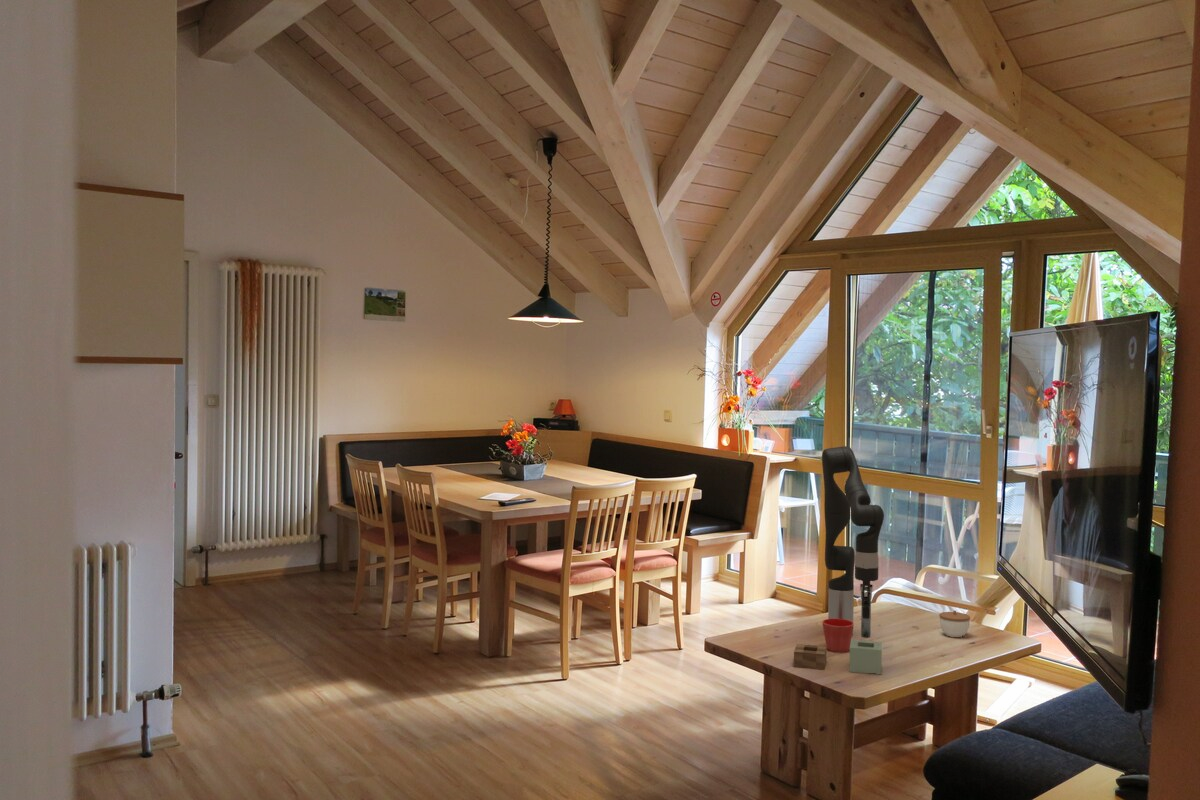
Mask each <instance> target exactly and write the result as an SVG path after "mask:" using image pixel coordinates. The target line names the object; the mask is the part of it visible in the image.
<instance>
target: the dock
mask: <svg viewBox="0 0 1200 800" xmlns="http://www.w3.org/2000/svg"><path fill="white" fill-rule="evenodd" d="M882 647H883V643H882V641H872V640H871V641H870V640H859V639H851V643H850V648H849V673H860V674H868V673H876V674H875V675H879V674H881V675H882V667H883V666H882V662H883V661H882V658H883V657H882V656H883V654H882V653H883V652H882V649H883V648H882Z"/></svg>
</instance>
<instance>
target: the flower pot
mask: <svg viewBox="0 0 1200 800" xmlns="http://www.w3.org/2000/svg"><path fill="white" fill-rule="evenodd" d="M822 629H823V634H824V640H825V646H827V650H829V651H832V652H834V653H835V652H836V653H846V652H848V651H850V643H851V640H852V636H853V635H852V631H853V632H854V621H853V622H852V621H849V620H846V619H837V618H833V619H828V618H826V619H823V620H822Z"/></svg>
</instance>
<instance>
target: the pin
mask: <svg viewBox="0 0 1200 800" xmlns="http://www.w3.org/2000/svg"><path fill="white" fill-rule="evenodd" d="M864 603H868V601H864ZM860 605H861V606H860V607H861V609H860V610H861V613H860V614H861V616H860V620H861V621H860V624H861V625H860V637H861V638H864V639H865V638H866V639H869V638H871V629H872V628H871V626H872V625H871V623H872V622H871V619H872V618H871V617H872V616H871V615H872V599H871V600H870V611H869V619H866V618H863V617H862V613H863V607H862V600H861V603H860Z"/></svg>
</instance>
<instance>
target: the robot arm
mask: <svg viewBox="0 0 1200 800" xmlns="http://www.w3.org/2000/svg"><path fill="white" fill-rule="evenodd" d="M821 463H822V464H821V465H822V473H823V484H824V485H823V487H824V501H823V502H824V505H823V507H824V510H823V511H824V527H825V541H824V542H825V546H824V565H825V567H826V569H827V570H830V571H842V572H844V573H843V574H842V575H840V576H838V577H835V578H831V579H830V580H829V581H828V604H827V605H828V607H827V608H828V609H827V610H828V614H827V615H828V618H827V619H833V618H837V619H846V620H849V621H852V622H853V623H854V610H855V609H854V604H855V603H854V601H855V600H854V599H855V598H854V597H855V596H854V595H855V594H854V592H855V591H854V588H855V587H854V586H855V584H854V583H855V582H854V578H855V579H856V580H858V581H862V583H860V585H859V590H860V600H861V601H862V607H863V613H862V617H863V618H866V619H869V611H870V600H871V601H872V599H873V598H872V597H873V594H872V593H873V589H874V588H873V587H874V585H873V584H871V582H877V581H878V580H879V539H880V538H879V537H880V533H881V530H882V526H883V524H884V523H883V522H884V520H885V519H884V518H885V513H884V510H883V507H881V506H880V505H878V504H871V503H872V502H871V496H870V495H869V492H868V489H867V488H866V487H865V484H864V482H863V478H862V476H861V472H860V468H859V465H858V461H857V459H856V456H855V453H854V451H853V449H852V447H850V446H847V445H845V446H838V447H837V446H836V447H829V448H824V449H823V451H822V454H821ZM840 473H849V474H848V476H847V479H846V481H845V483H844V488H843V489H841V488H840V486H839V485H838V484H837V482H836V481H835V477H834V475H835V474H840ZM843 490H844V491H843ZM850 520H851V522H852V523H853V524H854V525H855V526H857V527H869V528H868V530H867V531H864V532H861V533H858V534H857V535H856V538H855V549H854V547H853V546H848V545H847V546H846V545H835V543H836V541H837V539H838V537H839V536H840V534H841V533H842V532H843V530H845V528H846V527H847V526H848V524H849V522H850ZM864 601H868V603H864ZM853 635H854V630H853V631H852V636H853Z"/></svg>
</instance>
